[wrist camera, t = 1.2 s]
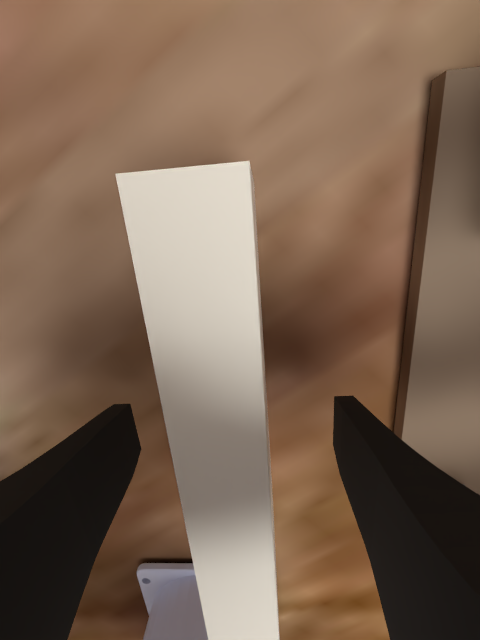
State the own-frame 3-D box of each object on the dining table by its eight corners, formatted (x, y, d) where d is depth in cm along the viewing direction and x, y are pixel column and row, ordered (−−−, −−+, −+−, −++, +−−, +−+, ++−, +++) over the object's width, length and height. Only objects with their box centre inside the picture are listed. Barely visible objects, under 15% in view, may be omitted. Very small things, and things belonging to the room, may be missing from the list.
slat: (273, 505, 17) (280, 657, 11) (227, 505, 17) (211, 655, 11) (253, 182, 11) (249, 160, 6) (186, 188, 11) (115, 174, 6)
